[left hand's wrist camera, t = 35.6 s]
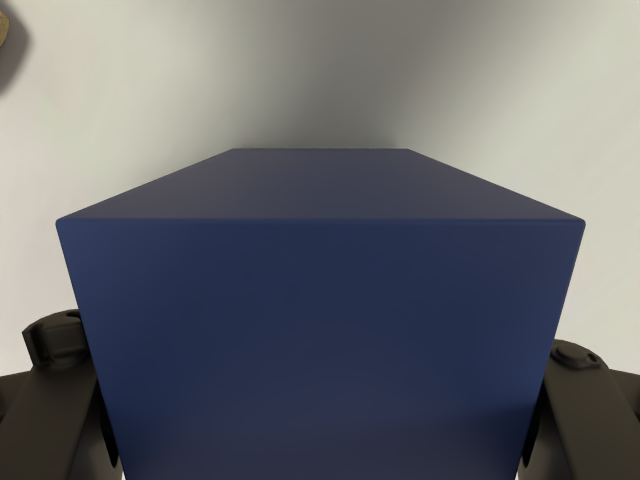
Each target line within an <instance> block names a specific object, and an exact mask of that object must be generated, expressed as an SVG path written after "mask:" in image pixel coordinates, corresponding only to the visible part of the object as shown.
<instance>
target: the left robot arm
mask: <svg viewBox="0 0 640 480" xmlns="http://www.w3.org/2000/svg"><path fill="white" fill-rule="evenodd" d="M22 335H23V338H24V341H25V343H26V346H27V349H28V352H29V355H30V358H31V361H32V363H33V367H32V369H31V370H30V371H26V372H21V373H16V374H11V375H6V376H1V377H0V480H121V479H122V472H123V468H122V465H121V461H120V457H119V454H118V450H117V446H116V443H115V439H114V436H113V432H112V428H111V425H110V421H109V417H108V414H107V410H106V407H105V403H104V399H103V396H102V392H101V388H100V385H99V381H98V377H97V374H96V370H95V367H94V363H93V359H92V356H91V352H90V348H89V345H88V341H87V338H86V334H85V330H84V327H83V323H82V319H81V316H80V312H79V309H72V310H66V311H62V312H58V313H54V314H51V315H49V316H46V317H43V318H41V319H39V320H37V321H36V322H34V323H32V324H30V325H29V326H28V327H27V328H26V329H25V330H24V331H23V332H22ZM517 471H518V478H519V480H640V375H637V374H632V373H627V372H622V371H617V370H612V369H609V368H608V366H607V365H606V363H605V362H604V361H603V360H602V359H601V358H600V357H599V356H598V355H596V354H595V353H593V352H592V351H590V350H589V349H586V348H584V347H582V346H580V345H577V344H575V343H571V342H568V341H564V340H557V339H554V341H553V344H552V348H551V352H550V355H549V359H548V362H547V366H546V370H545V373H544V377H543V380H542V384H541V388H540V391H539V395H538V398H537V402H536V405H535V409H534V413H533V416H532V420H531V423H530V427H529V431H528V434H527V438H526V441H525V445H524V449H523V452H522V456H521V459H520V463H519V467H518V470H517Z"/></svg>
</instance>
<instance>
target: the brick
mask: <svg viewBox="0 0 640 480" xmlns="http://www.w3.org/2000/svg"><path fill="white" fill-rule="evenodd" d="M55 225H56V229H57V232H58V236H59V240H60V243H61V247H62V250H63V254H64V258H65V261H66V265H67V269H68V272H69V276H70V279H71V283H72V287H73V290H74V294H75V298H76V301H77V305H78V309H79V312H80V316H81V319H82V323H83V327H84V330H85V334H86V338H87V341H88V345H89V348H90V352H91V356H92V359H93V363H94V367H95V370H96V374H97V377H98V381H99V385H100V388H101V392H102V396H103V399H104V403H105V407H106V410H107V414H108V417H109V421H110V425H111V428H112V432H113V436H114V439H115V443H116V446H117V450H118V454H119V457H120V461H121V465H122V468H123V472H124V476H125V479H126V480H515V477H516V474H517V470H518V467H519V463H520V459H521V456H522V452H523V449H524V445H525V441H526V438H527V434H528V431H529V427H530V423H531V420H532V416H533V413H534V409H535V405H536V402H537V398H538V395H539V391H540V388H541V384H542V380H543V377H544V373H545V370H546V366H547V362H548V359H549V355H550V352H551V348H552V344H553V341H554V337H555V334H556V330H557V326H558V323H559V319H560V316H561V312H562V308H563V305H564V301H565V298H566V294H567V290H568V287H569V283H570V280H571V276H572V272H573V269H574V265H575V262H576V258H577V254H578V251H579V247H580V244H581V240H582V236H583V233H584V229H585V226H586V224H585V221H584V220H583V219H581V218H578V217H576V216H573V215H571V214H568V213H566V212H563V211H561V210H558V209H556V208H553V207H551V206H549V205H546V204H544V203H541V202H539V201H536V200H534V199H531V198H529V197H526V196H524V195H521V194H519V193H516V192H514V191H511V190H509V189H506V188H504V187H501V186H499V185H496V184H494V183H491V182H489V181H486V180H484V179H481V178H479V177H476V176H474V175H471V174H469V173H466V172H464V171H461V170H459V169H456V168H454V167H451V166H449V165H446V164H444V163H442V162H439V161H437V160H434V159H432V158H429V157H427V156H424V155H422V154H419V153H417V152H414V151H412V150H409V149H231V150H229V151H226V152H224V153H221V154H219V155H216V156H214V157H211V158H209V159H206V160H204V161H201V162H199V163H196V164H194V165H191V166H189V167H186V168H184V169H181V170H179V171H176V172H174V173H171V174H169V175H166V176H164V177H161V178H159V179H156V180H154V181H151V182H149V183H146V184H144V185H141V186H139V187H136V188H134V189H131V190H129V191H126V192H124V193H122V194H119V195H117V196H114V197H112V198H109V199H107V200H104V201H102V202H99V203H97V204H94V205H92V206H89V207H87V208H84V209H82V210H79V211H77V212H74V213H72V214H69V215H67V216H64V217H62V218H59V219H57V220H56V224H55Z"/></svg>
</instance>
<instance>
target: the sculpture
mask: <svg viewBox="0 0 640 480" xmlns="http://www.w3.org/2000/svg"><path fill="white" fill-rule="evenodd" d="M8 28H9V20H8V18H7V17H6V15H5V14H3V13H2V12H1V11H0V46H1V45H2V44H3V42H4V40H5V38H6V36H7V32H8Z"/></svg>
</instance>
